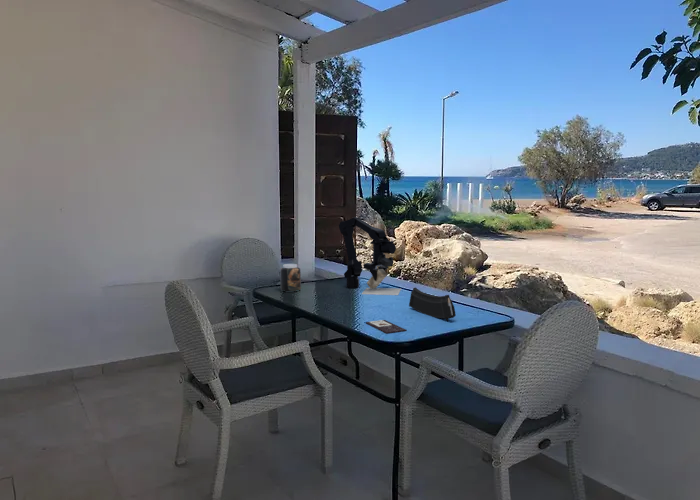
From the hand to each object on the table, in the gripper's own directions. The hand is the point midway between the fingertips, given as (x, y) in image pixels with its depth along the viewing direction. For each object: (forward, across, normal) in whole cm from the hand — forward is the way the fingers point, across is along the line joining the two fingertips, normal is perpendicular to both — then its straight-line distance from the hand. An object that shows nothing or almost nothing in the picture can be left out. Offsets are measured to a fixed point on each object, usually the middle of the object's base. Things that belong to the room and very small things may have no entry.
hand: (378, 280), depth 275 cm
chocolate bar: (+7, -53, -53) cm, 76 cm away
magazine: (+7, -24, -54) cm, 60 cm away
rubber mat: (+6, 0, -3) cm, 7 cm away
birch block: (+4, 0, +6) cm, 7 cm away
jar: (+7, -32, +39) cm, 51 cm away
